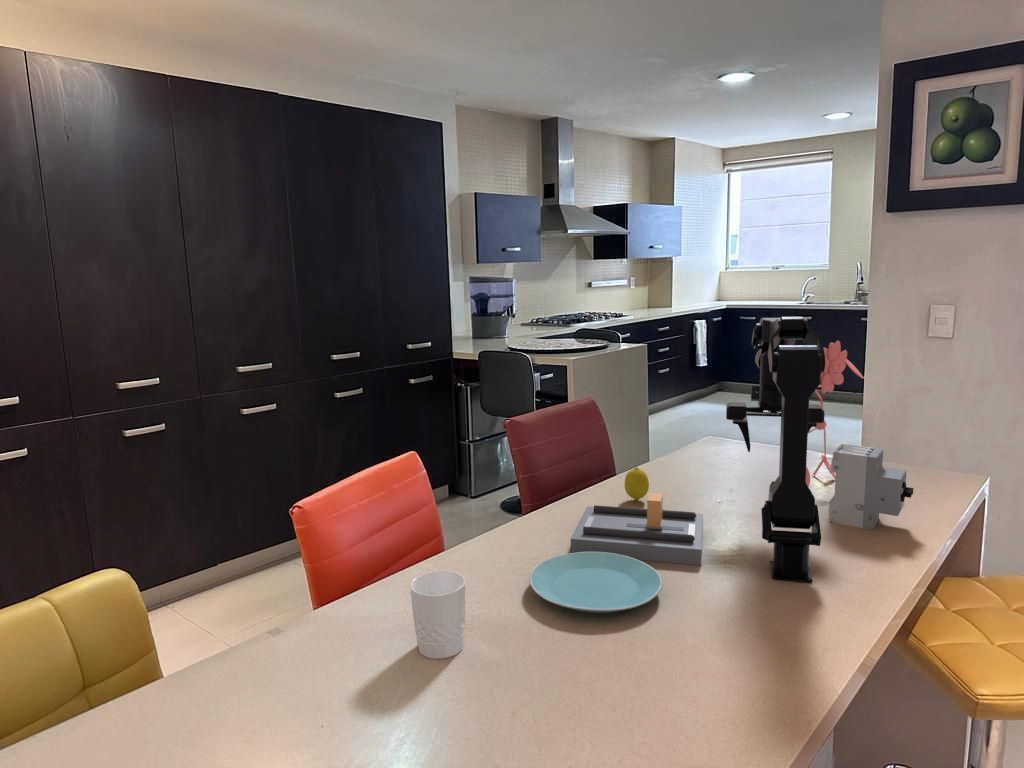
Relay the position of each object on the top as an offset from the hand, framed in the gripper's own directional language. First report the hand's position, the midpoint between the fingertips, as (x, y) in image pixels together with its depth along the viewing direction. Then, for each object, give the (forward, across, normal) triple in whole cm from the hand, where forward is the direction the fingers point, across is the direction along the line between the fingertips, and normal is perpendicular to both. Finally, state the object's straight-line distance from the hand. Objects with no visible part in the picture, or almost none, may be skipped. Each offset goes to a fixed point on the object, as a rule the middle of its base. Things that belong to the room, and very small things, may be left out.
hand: (772, 452), depth 143 cm
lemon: (+14, +29, -5) cm, 32 cm away
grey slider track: (+11, +25, +18) cm, 33 cm away
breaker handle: (+11, +22, +18) cm, 31 cm away
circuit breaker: (+14, -19, -1) cm, 24 cm away
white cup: (+15, +49, +63) cm, 82 cm away
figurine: (+14, -14, -24) cm, 31 cm away
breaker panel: (+14, +25, +18) cm, 34 cm away
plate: (+15, +30, +41) cm, 53 cm away
